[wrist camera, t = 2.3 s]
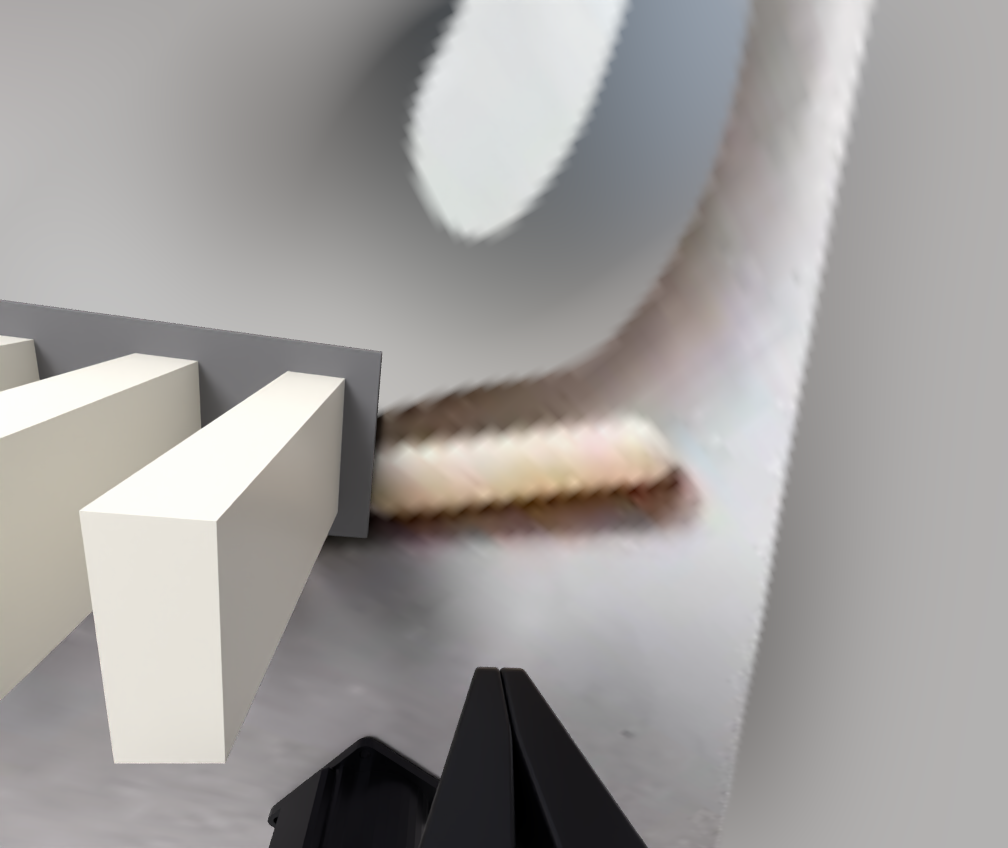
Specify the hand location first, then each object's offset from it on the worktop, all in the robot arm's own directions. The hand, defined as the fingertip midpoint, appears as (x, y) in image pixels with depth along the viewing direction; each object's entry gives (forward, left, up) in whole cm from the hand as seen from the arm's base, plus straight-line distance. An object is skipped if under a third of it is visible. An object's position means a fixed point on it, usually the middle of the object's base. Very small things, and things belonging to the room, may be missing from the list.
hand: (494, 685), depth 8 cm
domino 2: (+4, +3, -9) cm, 11 cm away
